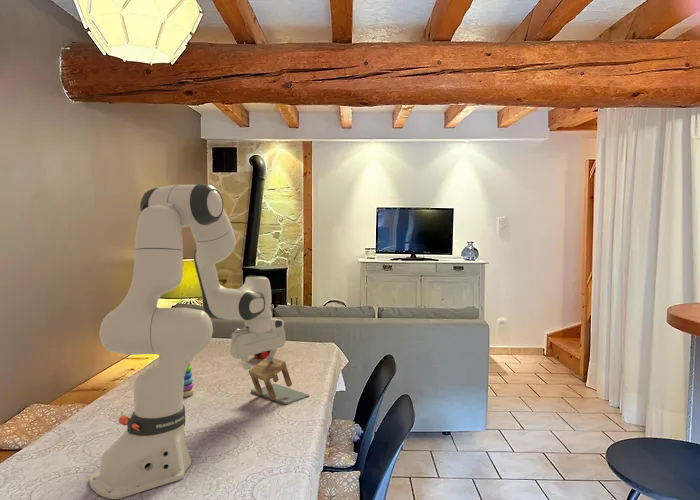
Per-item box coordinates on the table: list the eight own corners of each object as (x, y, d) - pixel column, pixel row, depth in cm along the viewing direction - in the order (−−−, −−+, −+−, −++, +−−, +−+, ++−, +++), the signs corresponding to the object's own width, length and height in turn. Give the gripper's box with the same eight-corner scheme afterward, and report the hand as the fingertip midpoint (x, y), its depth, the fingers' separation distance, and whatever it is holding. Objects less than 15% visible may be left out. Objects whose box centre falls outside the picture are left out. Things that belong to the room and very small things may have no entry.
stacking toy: (186, 399, 168) (185, 344, 167) (165, 397, 169) (164, 342, 168) (198, 391, 175) (197, 338, 174) (177, 389, 177) (176, 337, 176)
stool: (265, 376, 162) (285, 361, 168) (248, 371, 168) (267, 356, 174) (273, 400, 165) (292, 384, 171) (256, 394, 171) (275, 379, 177)
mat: (285, 405, 163) (285, 402, 162) (250, 392, 174) (250, 389, 174) (309, 396, 171) (309, 393, 171) (275, 384, 183) (275, 381, 183)
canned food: (252, 356, 221) (251, 331, 220) (269, 354, 224) (269, 329, 223) (256, 360, 214) (256, 335, 213) (274, 358, 217) (274, 333, 216)
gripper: (237, 331, 155) (238, 375, 156) (287, 320, 170) (288, 360, 171) (225, 328, 159) (226, 371, 160) (275, 317, 174) (276, 356, 175)
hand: (259, 365), depth 166 cm, fingers open, 8 cm apart
